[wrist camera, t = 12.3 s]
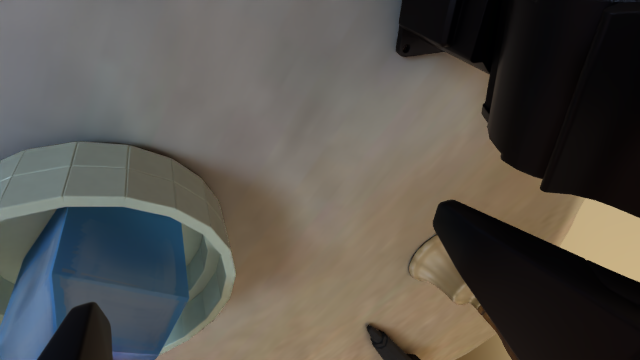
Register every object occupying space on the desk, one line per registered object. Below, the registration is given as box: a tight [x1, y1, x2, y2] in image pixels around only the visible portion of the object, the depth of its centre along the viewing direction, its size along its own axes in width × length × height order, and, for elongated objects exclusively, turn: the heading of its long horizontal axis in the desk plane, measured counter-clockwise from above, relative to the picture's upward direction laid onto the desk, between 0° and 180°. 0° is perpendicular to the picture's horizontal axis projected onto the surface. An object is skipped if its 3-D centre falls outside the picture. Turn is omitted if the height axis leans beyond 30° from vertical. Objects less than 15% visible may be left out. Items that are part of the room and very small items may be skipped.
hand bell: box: [409, 235, 519, 360], centre depth 34 cm, size 8×8×16 cm
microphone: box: [367, 325, 420, 360], centre depth 49 cm, size 6×6×20 cm
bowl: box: [0, 141, 236, 356], centre depth 20 cm, size 14×14×5 cm
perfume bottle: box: [0, 207, 189, 360], centre depth 17 cm, size 6×6×12 cm
